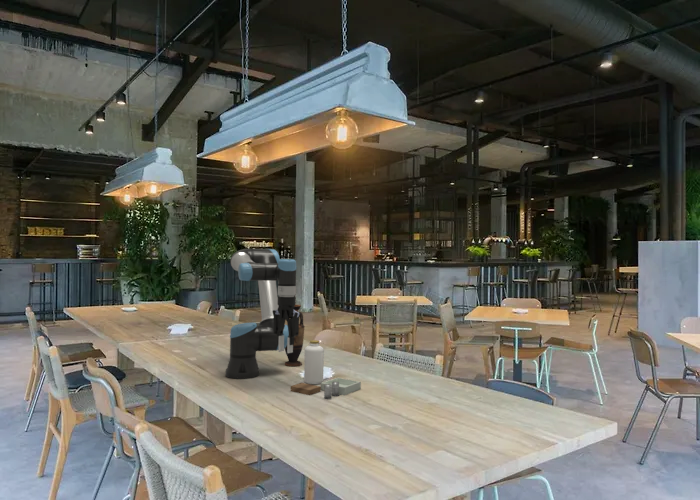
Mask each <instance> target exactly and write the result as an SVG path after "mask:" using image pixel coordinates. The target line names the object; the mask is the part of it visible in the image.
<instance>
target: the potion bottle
mask: <svg viewBox="0 0 700 500" xmlns="http://www.w3.org/2000/svg"><path fill="white" fill-rule="evenodd" d="M324 352H325V348H323V346H321V345H320V340H316V339H315V340H314V339H312V340H309V345H307V346H306V347H304V361H303V362H304V363H303V364H304V366H303V368H304V370H303V371H304V372H303V380H304V383H306V384H311V385H321V383H322V382H324V363H325V362H324V361H325V360H324V359H325V356H324V355H325V354H324Z"/></svg>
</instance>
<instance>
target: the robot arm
mask: <svg viewBox="0 0 700 500" xmlns="http://www.w3.org/2000/svg"><path fill="white" fill-rule="evenodd" d="M230 266H231V267H232V269H233V270H234V271H236V272H237V273H238V274H237V275H238V279H239V281H243V282H249V281H253V282H255V281H257V283H258V292H259V301H260V302H259V303H260V304H259V305H260V315H261V321H260V322H259V325H257V323H256V322H243V323H238V324H235V325H232V327H231V328H230V332H229V333H230V334H229V338H230V339H229V340H230V341H229V342H230V343H229V360H228V364H227V367H226V369H225V377H227V378H230V379H237V380H238V379H240V380H241V379H243V380H244V379H253V378H257V377H258V376H259V375H260V368H259V365H258V361H257V356H256V355H257V352H271V351H272V352H274V351H275V352H276V351H278V353H279V352H285V348H286V346H287V353H292V352H293V345H294V337H295V336H298V334H299V324H300V314H301V313H302V312H301V311H298V312H297V311H295V305H297V303H296V300H297V299H296V295H297V261H296V259H291V258H286V259H285V258H284V259H283V258H282V259H281V258H280V255H279V252H278V251H277V250H276V249H271V248H243V249H240V250H237V251H236V252H234V253H233V254H232V256H231V257H230ZM300 312H301V313H300ZM293 314H294V315H293ZM293 316H294V317H293ZM286 323H287V324H288V325H287V324H286Z"/></svg>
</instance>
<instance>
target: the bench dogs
mask: <svg viewBox="0 0 700 500" xmlns="http://www.w3.org/2000/svg"><path fill="white" fill-rule="evenodd" d="M323 393H324V394H323V397H324V398H323V399H325V400H332V398H333V397H338V396H339V395H340V394H339V382H332V385H331V384H326V385H324V391H323Z"/></svg>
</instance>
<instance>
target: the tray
mask: <svg viewBox="0 0 700 500" xmlns="http://www.w3.org/2000/svg"><path fill="white" fill-rule="evenodd" d="M332 382H339V395H342V396H347V395H349V394H351V393H352V394H353V393H354V392H357V391H359V390H361V385H362V383H361V381H360V380H353V379H348V378H342V377H335V378H332V379H329V380H326V381H323V382H322V383H320V386H321V391H322V392H324V385H326V384H331V385H332Z"/></svg>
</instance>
